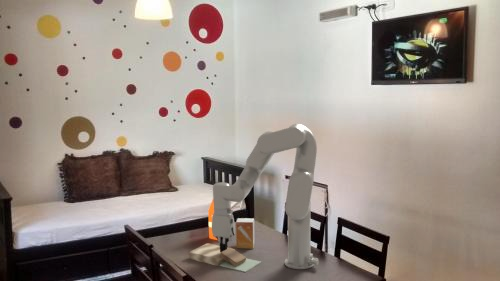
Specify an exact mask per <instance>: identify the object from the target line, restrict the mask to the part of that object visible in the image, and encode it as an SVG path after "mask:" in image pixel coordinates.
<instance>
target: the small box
mask: <svg viewBox="0 0 500 281" xmlns="http://www.w3.org/2000/svg"><path fill="white" fill-rule="evenodd" d="M235 235H236V237H235V240H236V249H251V250H252V249H254V247H255V218H254V217H253V218H251V217H250V218H247V217H245V218H244V217H241V218H239V217H238V218H236V223H235Z"/></svg>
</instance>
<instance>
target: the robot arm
mask: <svg viewBox="0 0 500 281" xmlns="http://www.w3.org/2000/svg"><path fill="white" fill-rule="evenodd" d="M293 149H296V151H295V158H294V165H293V170H292V173H291V175H290V177H289V180H288V185H287V192H286V199H285V206H284V209H285V210H284V211H285V213H286V215H287V249H288V250H287V252H288V254H287V256H288V257H287V258H285V260H284V265H285V266H286V267H287V268H289V269H293V270H307V269H311V268H313V267H314V266H319V263H320V262H319V258H317V257H314V253H311V252H312V251H311V246H312V245H311V215H312V214H311V212H312V211H311V209H312V208H311V207H312V205H311V204H312V203H311V197H312V192H313V186H314V182H315V178H314V176H315V169H316V160H317V151H318V150H317V149H318V148H317V141H316V138H315V136H314V134H313V133H312V131H311V130H310V129H309V128H308V127H306V126H305V125H303V124H301V123H293V124H291V125H290V126H289V127H287V128H284V129H280V130H276V131H269V130H268V131H265V132H264V133H262V134H261V135H260V136H259V137H258V138H257V140H256V144H255V146H254V147H253V149H252V151H251V152H250V154H249V155H248V157H247V159H246V161H245V166H244V168H243V170H242V172H241V173H240V175H239V177H238V178H237V180H236V181H235V182H234V183H233V184H230V183H228V182H224V181H222V182H216V183H214V184H213V185H212V200H213V204H214V213H213V216H212V234H213V237H215V238H217V240H216V241H218V243H219V246H220V252H222V251H224V250H226V249H227V248H228V243H229V242H231V241H234V240H235V237H234V236H235V235H236V223H235V218H234V215H233V213H234V212H233V209H232V205H231V204H232V202H235V203H241V202H243V201H244V200H245V198H246V197H247V196H248V195H249V193H250V192H251V191H252V188H253V187H254V185H255V184H256V183H257V181H258V179H259V177H260V176H261V175H262V173H263V172H264V170H266V168H267V165H268V164H270V161H271V160H272V158H273V156H274V155H275V154H277V153H281V152H284V151H290V150H293Z"/></svg>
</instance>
